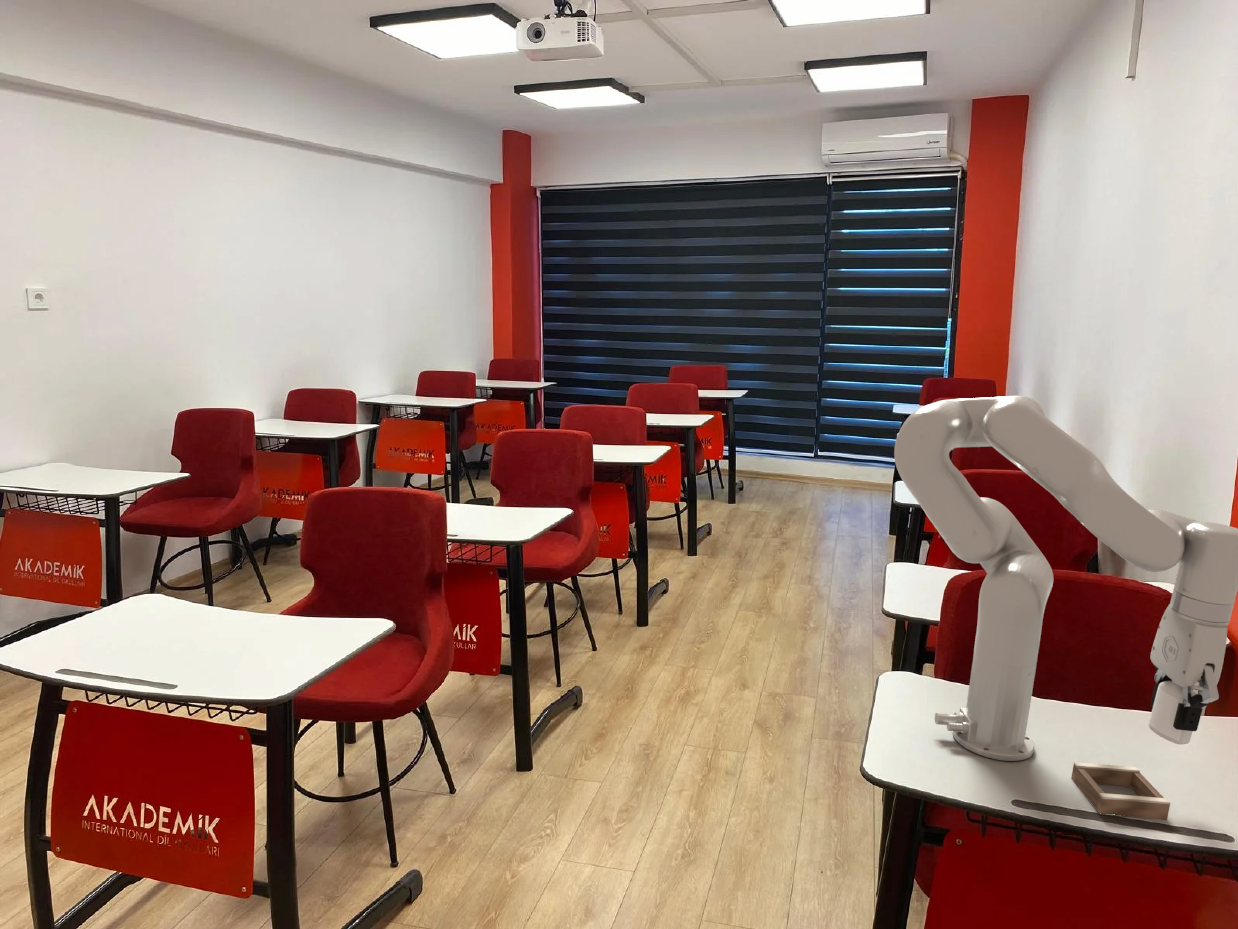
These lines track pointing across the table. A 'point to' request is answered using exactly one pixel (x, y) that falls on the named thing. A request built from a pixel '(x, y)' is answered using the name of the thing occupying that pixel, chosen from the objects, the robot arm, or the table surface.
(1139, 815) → the walnut collar
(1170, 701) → the eye dropper bottle
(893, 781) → the table surface
